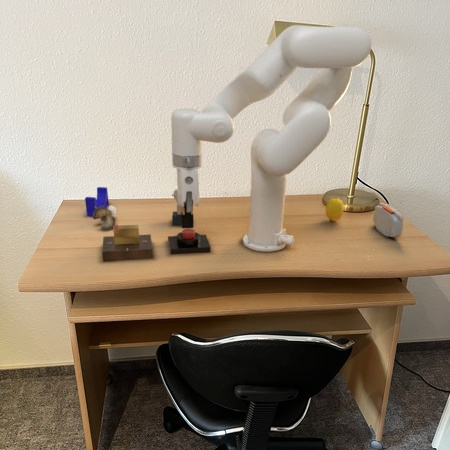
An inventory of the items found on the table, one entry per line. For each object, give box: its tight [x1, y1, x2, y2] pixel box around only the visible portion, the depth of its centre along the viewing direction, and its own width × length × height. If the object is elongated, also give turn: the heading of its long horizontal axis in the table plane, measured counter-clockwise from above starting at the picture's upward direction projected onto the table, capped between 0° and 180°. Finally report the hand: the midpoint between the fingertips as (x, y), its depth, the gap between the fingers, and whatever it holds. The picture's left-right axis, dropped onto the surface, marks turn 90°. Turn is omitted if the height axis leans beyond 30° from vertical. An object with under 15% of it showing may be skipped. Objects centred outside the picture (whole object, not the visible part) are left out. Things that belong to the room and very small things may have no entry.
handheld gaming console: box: [372, 202, 404, 238], centre depth 149 cm, size 14×3×8 cm, turn 12°
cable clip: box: [84, 186, 110, 218], centre depth 161 cm, size 12×4×6 cm, turn 172°
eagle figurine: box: [92, 204, 117, 232], centre depth 150 cm, size 8×7×9 cm
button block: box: [167, 231, 211, 256], centre depth 138 cm, size 11×9×4 cm
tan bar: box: [113, 224, 140, 245], centre depth 132 cm, size 6×2×5 cm, turn 99°
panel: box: [101, 233, 154, 263], centre depth 134 cm, size 13×11×3 cm
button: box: [181, 228, 196, 239], centre depth 137 cm, size 4×4×2 cm
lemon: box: [325, 196, 344, 222], centre depth 157 cm, size 6×6×8 cm
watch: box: [171, 188, 182, 227], centre depth 152 cm, size 6×8×11 cm
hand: (187, 227), depth 136 cm, fingers closed
